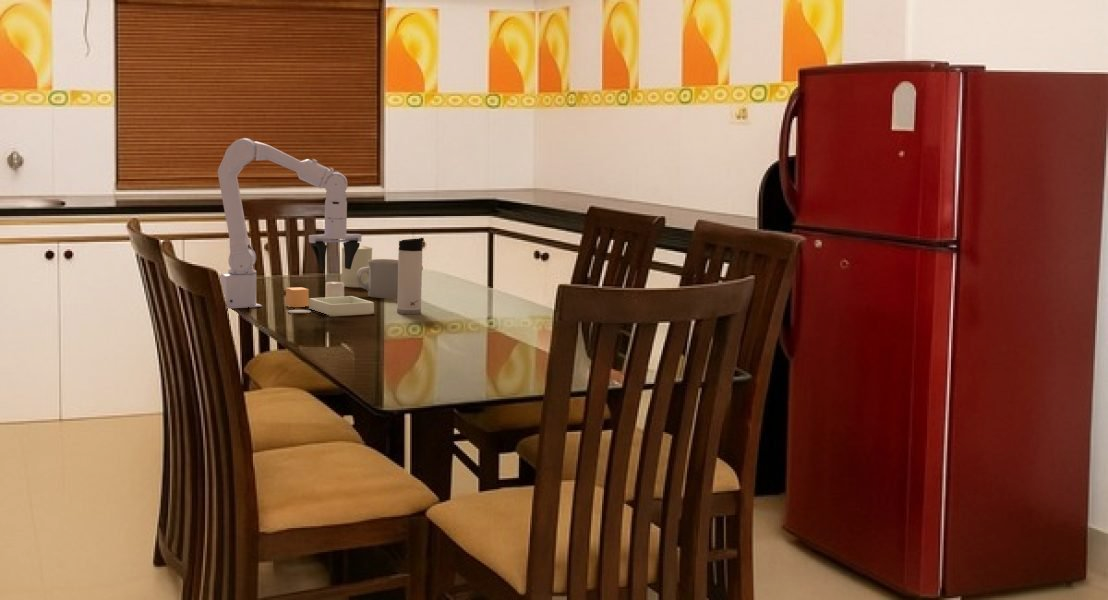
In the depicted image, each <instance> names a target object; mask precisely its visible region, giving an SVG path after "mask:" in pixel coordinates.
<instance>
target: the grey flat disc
mask: <svg viewBox="0 0 1108 600" xmlns="http://www.w3.org/2000/svg"><path fill="white" fill-rule="evenodd" d="M288 312H289V313H310V312H311V313H312V311H311V310H309V309H291V310H287V313H288Z"/></svg>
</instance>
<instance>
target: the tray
mask: <svg viewBox="0 0 1108 600" xmlns="http://www.w3.org/2000/svg"><path fill="white" fill-rule="evenodd" d="M309 309H312V310H315V311H318V312H321V313H324V314H327V315H329V316H328V317H341V316H343V317H346V316H358V315H359V316H361V315H362V316H363V315H372V314H373V315H374V314H375V302H373V301H370V300H366V299H363V298H359V297H357V296H353V295H349V296H347V295H346V296H345V295H344V297H326V298H325V297H309V308H308V310H309ZM315 311H314V312H315ZM318 312H317V313H318ZM321 313H320V314H321ZM324 314H323V315H324ZM327 315H326V316H327Z"/></svg>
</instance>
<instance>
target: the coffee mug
mask: <svg viewBox="0 0 1108 600" xmlns="http://www.w3.org/2000/svg"><path fill="white" fill-rule="evenodd" d="M368 265H369V267H363V268H360V269H359V270H358V272H357V275H356V280H357V283H358V285H359V286H360V287H359V288H362V289H364V290H365V291H367V296H368V297H371V298H376V299H377V298H379V299H396V298H397V297H398V259H391V258H386V259H385V258H382V259H381V258H379V259H378V258H377V259H375V258H374V259H373V258H372V260H369V261H368ZM364 272H367V274H368V280H367V282H366V283H363V282H362V281H361V276H362V274H363V273H364Z"/></svg>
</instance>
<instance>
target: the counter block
mask: <svg viewBox="0 0 1108 600" xmlns="http://www.w3.org/2000/svg"><path fill="white" fill-rule="evenodd" d="M309 291H310V289H309V288H305V287H300V286H299V287H285V306H286V305H289V306H292V307H305V306H309V298H310V297H309V296H310V295H309V294H310V293H309Z"/></svg>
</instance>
